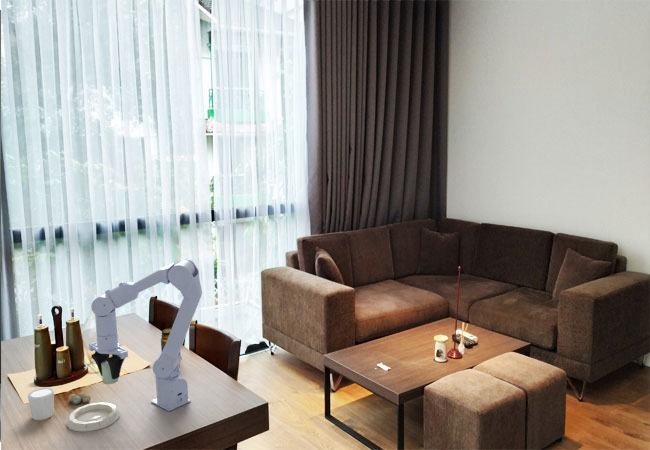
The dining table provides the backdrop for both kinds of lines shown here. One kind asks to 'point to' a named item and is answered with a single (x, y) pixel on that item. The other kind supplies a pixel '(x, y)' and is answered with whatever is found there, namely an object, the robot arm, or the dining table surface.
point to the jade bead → (107, 373)
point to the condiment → (165, 338)
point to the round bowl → (93, 417)
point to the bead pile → (79, 398)
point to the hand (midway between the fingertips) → (110, 376)
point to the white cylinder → (41, 403)
